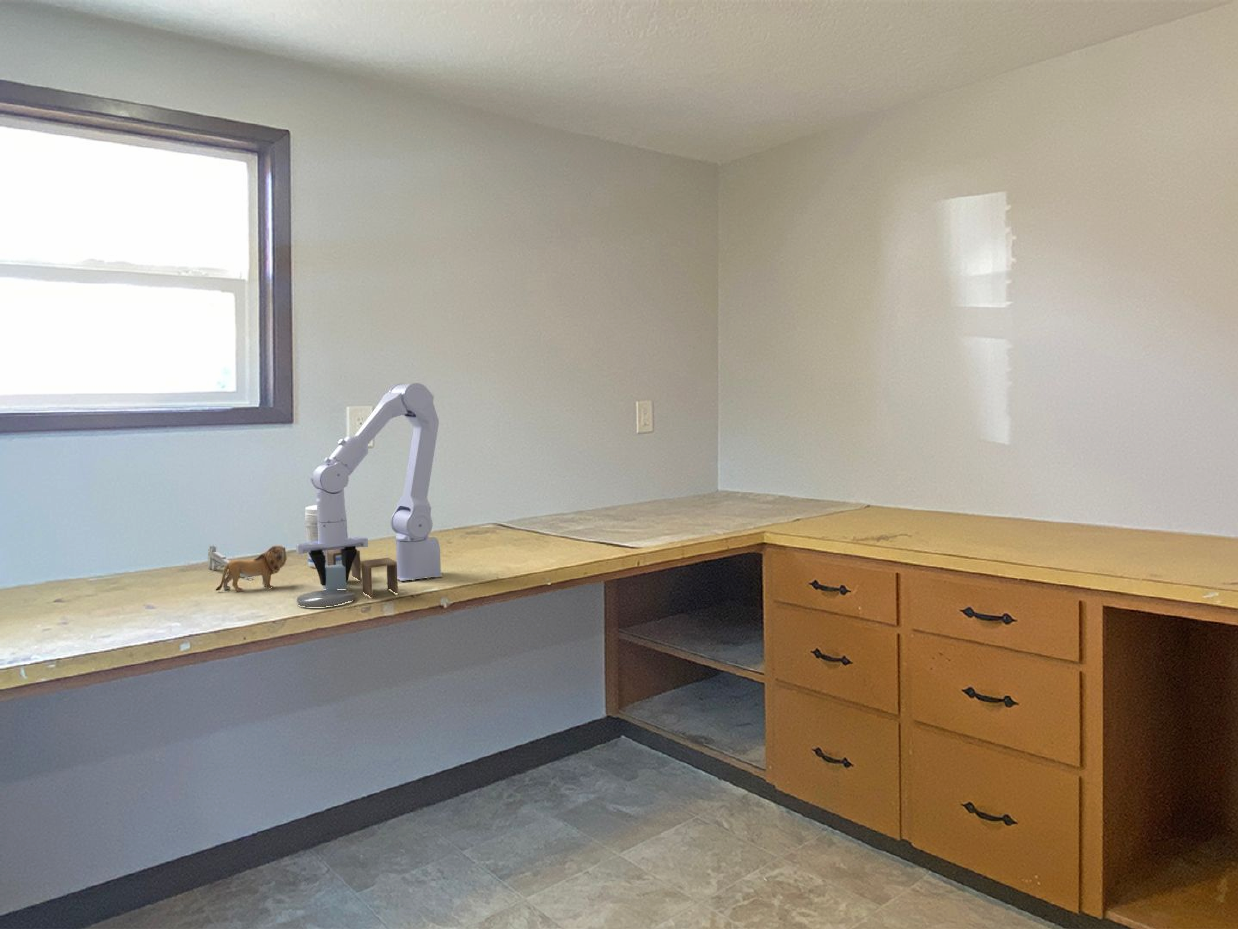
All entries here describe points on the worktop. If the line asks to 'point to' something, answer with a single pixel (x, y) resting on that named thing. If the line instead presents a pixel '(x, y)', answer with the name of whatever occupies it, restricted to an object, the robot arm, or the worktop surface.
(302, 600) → the dish
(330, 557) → the brown wooden arch
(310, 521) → the supplement tub
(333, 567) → the block
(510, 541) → the worktop surface
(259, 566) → the lion figurine
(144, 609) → the worktop surface
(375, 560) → the brown wooden stool
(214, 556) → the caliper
